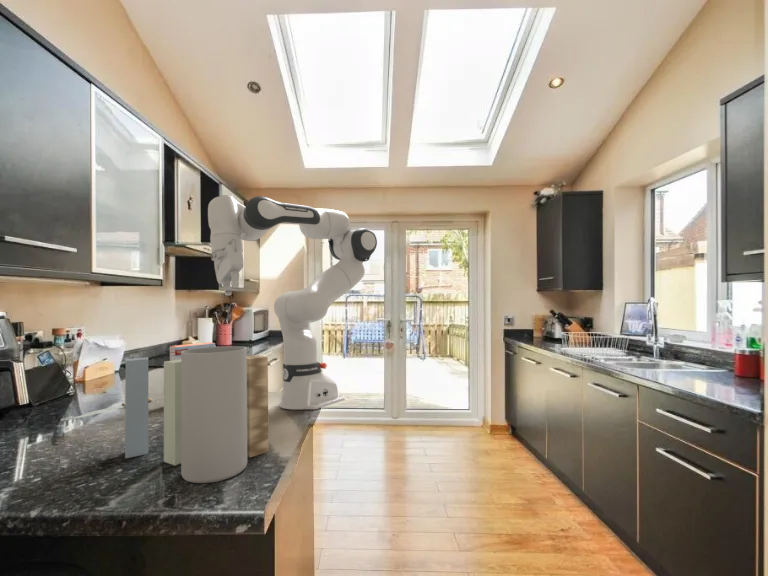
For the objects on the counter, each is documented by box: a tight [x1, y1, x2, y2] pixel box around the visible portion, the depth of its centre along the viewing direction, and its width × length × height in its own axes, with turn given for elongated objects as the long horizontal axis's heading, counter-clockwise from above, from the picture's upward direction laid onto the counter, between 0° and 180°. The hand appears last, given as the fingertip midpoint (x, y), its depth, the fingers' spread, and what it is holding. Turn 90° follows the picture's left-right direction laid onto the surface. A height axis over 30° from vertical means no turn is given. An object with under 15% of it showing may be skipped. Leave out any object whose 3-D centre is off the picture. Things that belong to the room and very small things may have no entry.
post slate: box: [124, 356, 149, 459], centre depth 92 cm, size 4×4×22 cm
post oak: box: [247, 354, 270, 458], centre depth 91 cm, size 4×4×22 cm
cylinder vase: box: [180, 346, 248, 484], centre depth 81 cm, size 12×12×25 cm
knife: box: [64, 397, 153, 421], centre depth 131 cm, size 27×2×5 cm
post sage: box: [163, 359, 181, 466], centre depth 87 cm, size 4×4×22 cm
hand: (231, 291), depth 116 cm, fingers open, 8 cm apart
